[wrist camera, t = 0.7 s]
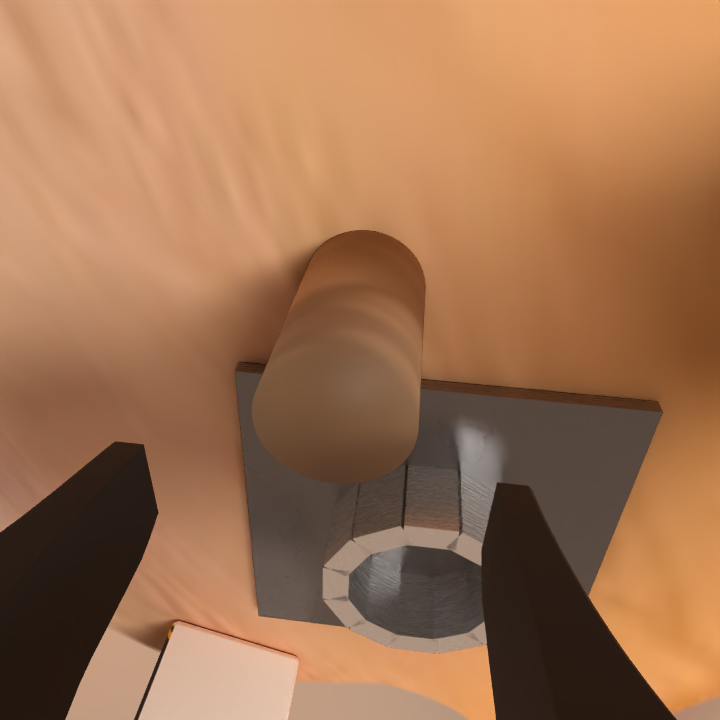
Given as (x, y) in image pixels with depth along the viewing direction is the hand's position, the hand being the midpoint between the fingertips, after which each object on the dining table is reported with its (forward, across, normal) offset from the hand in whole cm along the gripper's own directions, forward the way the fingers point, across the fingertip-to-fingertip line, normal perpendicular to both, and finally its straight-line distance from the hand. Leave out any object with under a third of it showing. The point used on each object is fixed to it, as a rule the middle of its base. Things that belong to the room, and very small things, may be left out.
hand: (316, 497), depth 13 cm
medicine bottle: (+10, +7, +25) cm, 28 cm away
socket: (+9, -3, +11) cm, 15 cm away
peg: (+9, 0, 0) cm, 9 cm away
